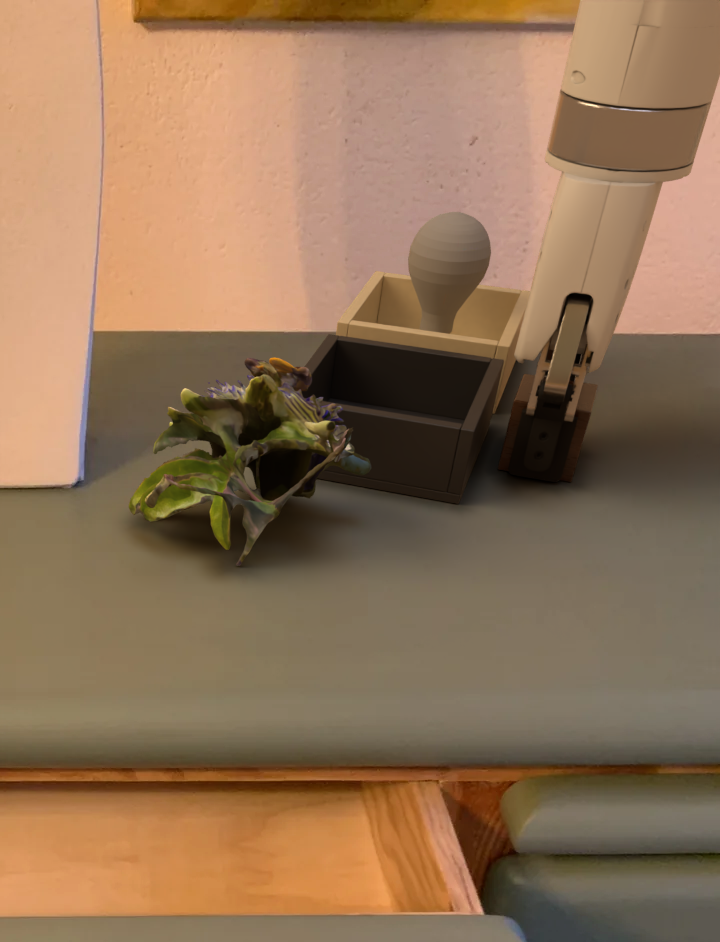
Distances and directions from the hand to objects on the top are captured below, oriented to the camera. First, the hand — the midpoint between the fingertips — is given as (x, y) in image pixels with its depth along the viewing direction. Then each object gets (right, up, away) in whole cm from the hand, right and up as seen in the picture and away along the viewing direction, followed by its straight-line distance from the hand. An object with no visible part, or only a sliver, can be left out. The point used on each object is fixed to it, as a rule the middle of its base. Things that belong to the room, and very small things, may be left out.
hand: (539, 455), depth 73 cm
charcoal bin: (-10, +1, +2) cm, 10 cm away
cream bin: (-4, +10, +11) cm, 15 cm away
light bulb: (-4, +10, +11) cm, 15 cm away
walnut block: (0, 0, 0) cm, 0 cm away
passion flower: (-19, -7, -7) cm, 22 cm away
